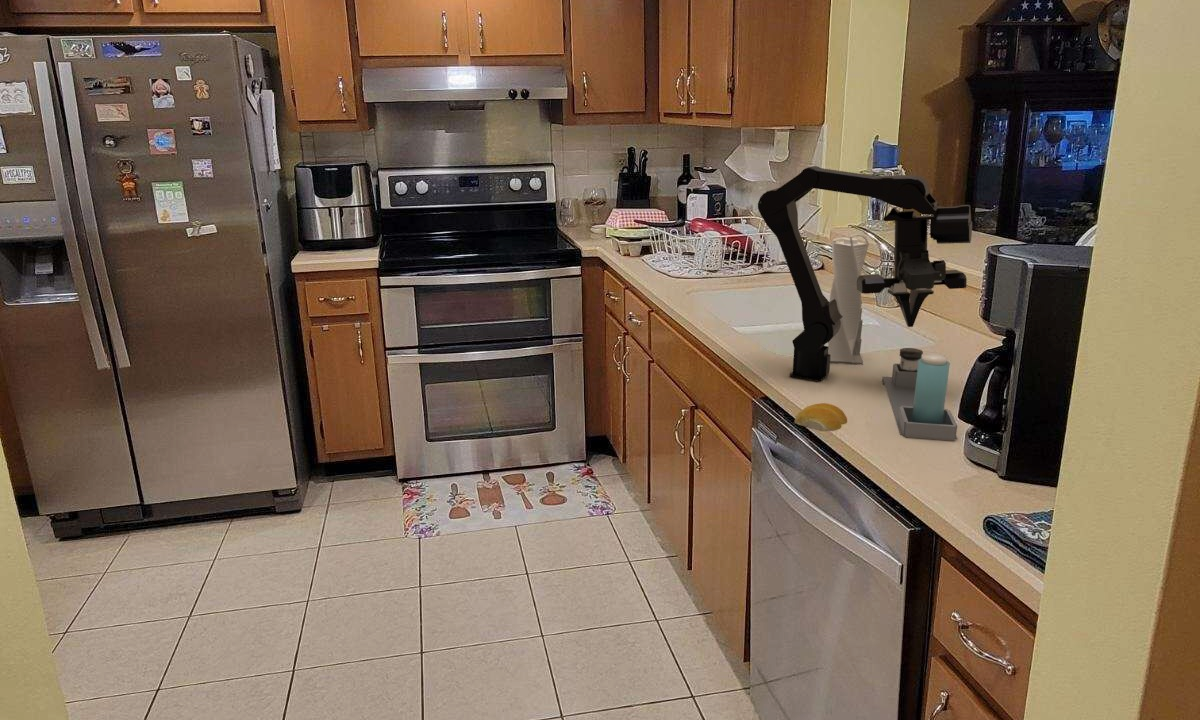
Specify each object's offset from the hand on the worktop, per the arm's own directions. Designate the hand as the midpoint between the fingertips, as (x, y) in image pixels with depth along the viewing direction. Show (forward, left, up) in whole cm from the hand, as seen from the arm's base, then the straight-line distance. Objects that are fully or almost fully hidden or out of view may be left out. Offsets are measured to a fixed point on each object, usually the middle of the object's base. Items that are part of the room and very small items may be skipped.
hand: (910, 326), depth 158 cm
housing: (+4, -10, -13) cm, 17 cm away
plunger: (0, +2, -11) cm, 11 cm away
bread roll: (-9, -26, -13) cm, 31 cm away
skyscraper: (-16, +14, -13) cm, 25 cm away
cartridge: (+8, -22, -12) cm, 26 cm away
